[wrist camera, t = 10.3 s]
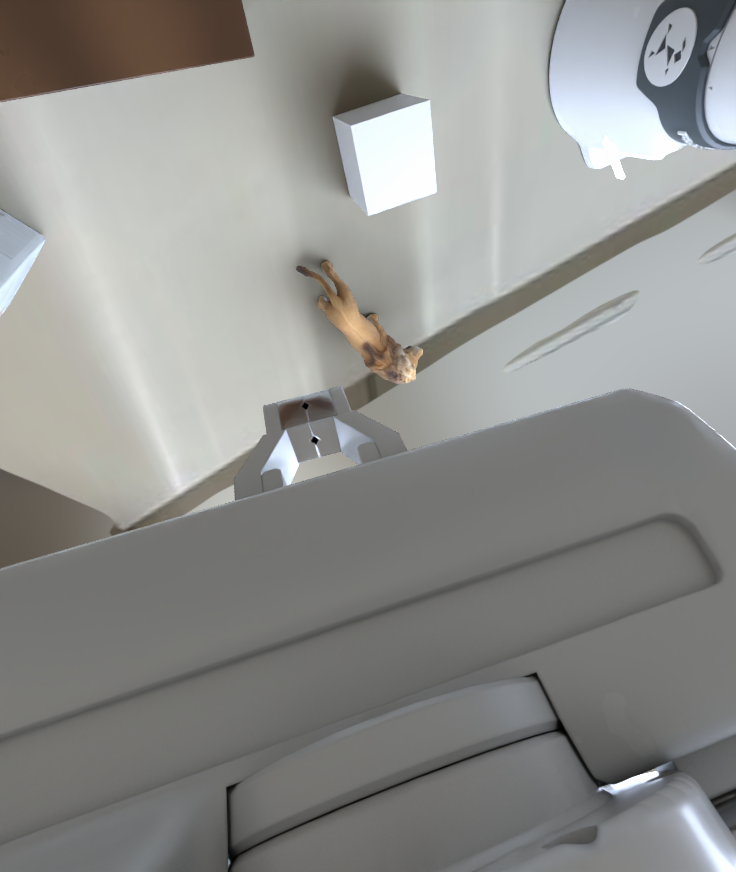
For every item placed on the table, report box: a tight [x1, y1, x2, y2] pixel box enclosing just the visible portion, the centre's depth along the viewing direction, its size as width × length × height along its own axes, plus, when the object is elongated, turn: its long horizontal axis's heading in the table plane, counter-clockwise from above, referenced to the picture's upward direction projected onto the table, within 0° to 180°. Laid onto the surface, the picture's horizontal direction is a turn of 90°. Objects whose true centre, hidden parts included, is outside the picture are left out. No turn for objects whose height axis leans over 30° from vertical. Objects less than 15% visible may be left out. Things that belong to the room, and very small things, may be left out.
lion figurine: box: [296, 261, 423, 384], centre depth 41 cm, size 15×5×9 cm, turn 45°
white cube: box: [332, 94, 437, 216], centre depth 32 cm, size 6×6×6 cm
